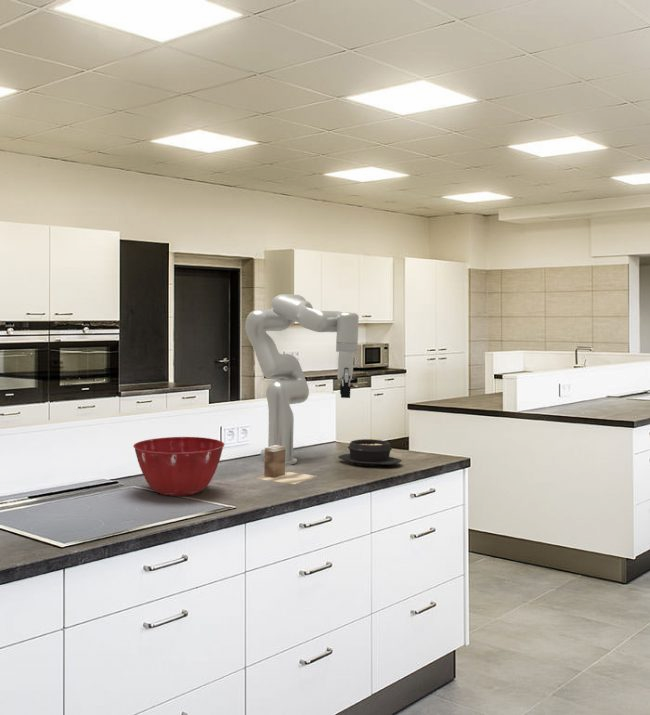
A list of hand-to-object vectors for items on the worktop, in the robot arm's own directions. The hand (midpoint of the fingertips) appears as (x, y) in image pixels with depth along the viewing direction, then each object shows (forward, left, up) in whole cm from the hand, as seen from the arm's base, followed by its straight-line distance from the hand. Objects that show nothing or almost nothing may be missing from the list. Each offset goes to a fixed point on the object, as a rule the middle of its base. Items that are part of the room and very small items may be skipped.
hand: (344, 396), depth 290 cm
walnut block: (-18, -16, -28) cm, 37 cm away
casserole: (-2, +26, -29) cm, 39 cm away
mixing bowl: (-31, -52, -29) cm, 67 cm away
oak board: (-13, -16, -28) cm, 35 cm away
